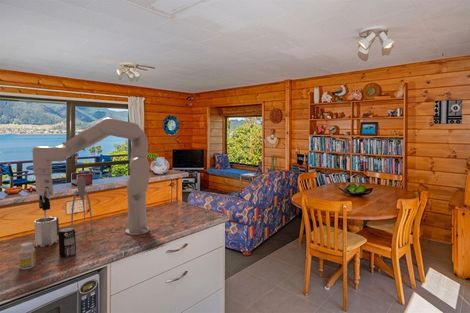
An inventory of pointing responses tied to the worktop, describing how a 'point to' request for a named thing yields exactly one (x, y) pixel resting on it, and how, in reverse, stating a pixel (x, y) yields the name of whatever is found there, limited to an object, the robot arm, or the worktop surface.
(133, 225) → the robot arm
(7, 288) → the worktop surface
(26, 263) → the supplement bottle
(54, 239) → the press carafe
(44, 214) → the grey knobbed rod
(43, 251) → the worktop surface
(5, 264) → the worktop surface
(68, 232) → the beverage can
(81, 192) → the juicer
